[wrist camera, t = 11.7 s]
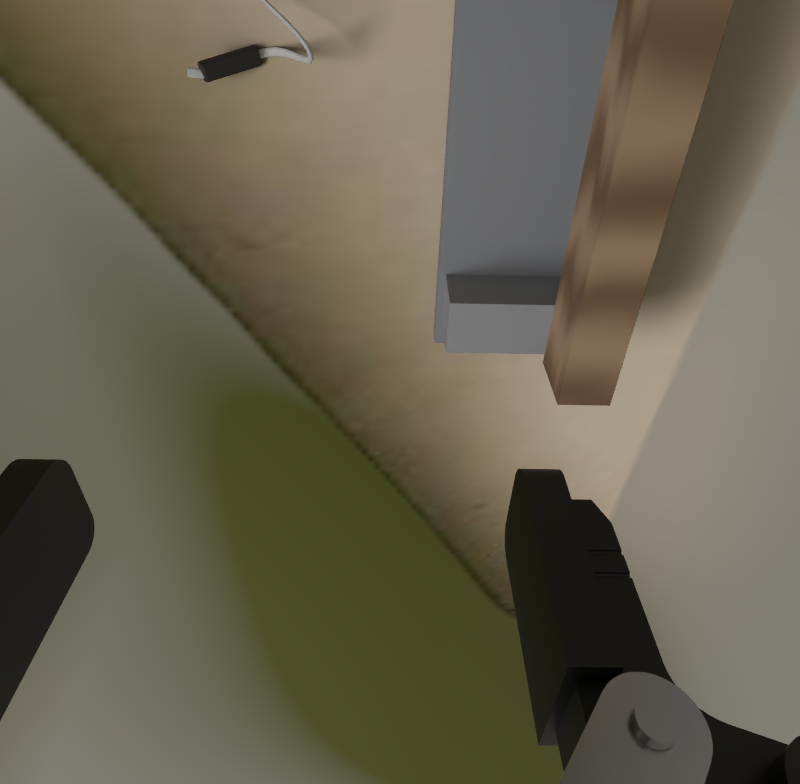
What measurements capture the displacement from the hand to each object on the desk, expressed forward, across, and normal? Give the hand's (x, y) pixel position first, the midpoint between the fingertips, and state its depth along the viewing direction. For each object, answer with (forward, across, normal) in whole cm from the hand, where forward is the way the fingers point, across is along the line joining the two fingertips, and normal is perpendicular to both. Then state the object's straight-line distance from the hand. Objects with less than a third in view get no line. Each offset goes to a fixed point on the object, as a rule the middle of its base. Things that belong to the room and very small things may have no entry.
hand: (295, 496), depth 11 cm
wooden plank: (+28, -14, +2) cm, 32 cm away
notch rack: (+34, -12, +2) cm, 36 cm away
